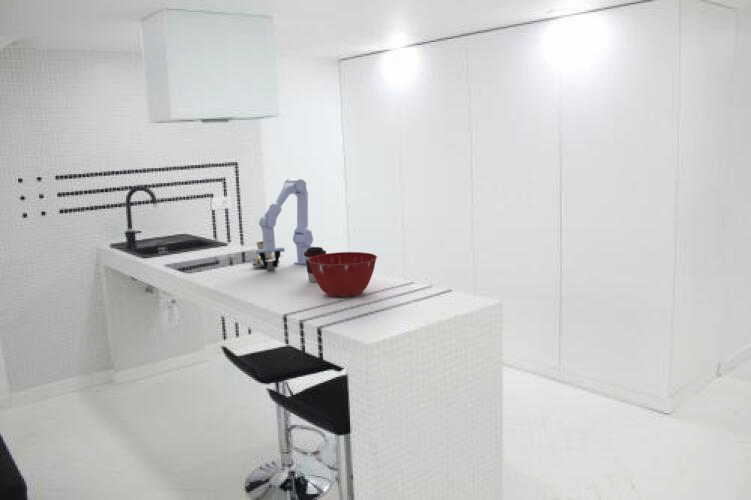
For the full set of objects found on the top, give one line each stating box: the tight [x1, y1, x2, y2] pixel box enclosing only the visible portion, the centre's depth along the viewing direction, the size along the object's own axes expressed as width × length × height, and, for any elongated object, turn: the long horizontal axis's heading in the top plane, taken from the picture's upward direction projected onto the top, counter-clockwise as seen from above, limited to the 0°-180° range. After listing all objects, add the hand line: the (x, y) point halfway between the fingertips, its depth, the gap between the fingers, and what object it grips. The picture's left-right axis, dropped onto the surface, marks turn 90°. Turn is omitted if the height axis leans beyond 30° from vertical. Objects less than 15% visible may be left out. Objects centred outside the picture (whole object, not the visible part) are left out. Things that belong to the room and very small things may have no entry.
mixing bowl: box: [308, 251, 378, 298], centre depth 277 cm, size 28×28×15 cm
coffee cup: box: [304, 246, 327, 283], centre depth 304 cm, size 10×10×15 cm
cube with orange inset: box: [265, 259, 277, 271], centre depth 333 cm, size 4×4×4 cm
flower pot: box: [255, 240, 272, 259], centre depth 366 cm, size 9×9×9 cm
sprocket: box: [251, 255, 280, 268], centre depth 342 cm, size 14×14×4 cm
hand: (270, 267), depth 333 cm, fingers closed on cube with orange inset, 5 cm apart
